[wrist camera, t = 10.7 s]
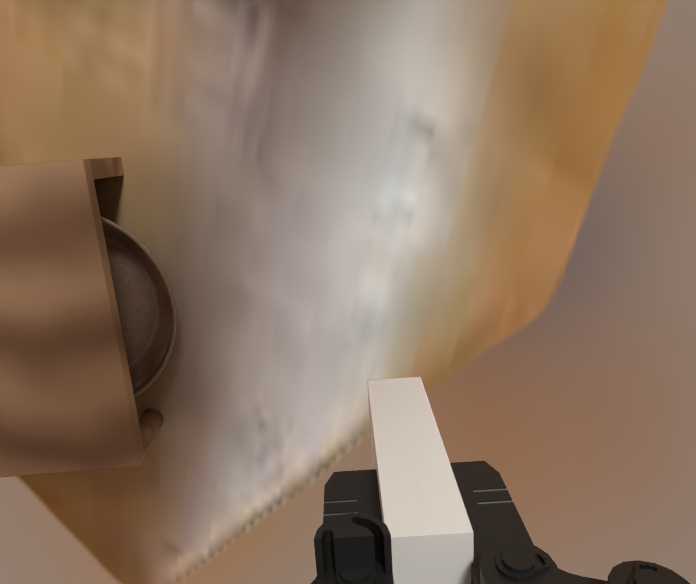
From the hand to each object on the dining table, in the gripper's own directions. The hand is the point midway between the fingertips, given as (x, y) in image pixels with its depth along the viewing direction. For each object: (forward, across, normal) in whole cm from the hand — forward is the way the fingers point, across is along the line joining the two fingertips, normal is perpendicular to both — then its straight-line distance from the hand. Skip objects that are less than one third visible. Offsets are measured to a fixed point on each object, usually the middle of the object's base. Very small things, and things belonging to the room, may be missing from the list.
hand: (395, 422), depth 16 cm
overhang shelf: (+25, -23, -3) cm, 34 cm away
